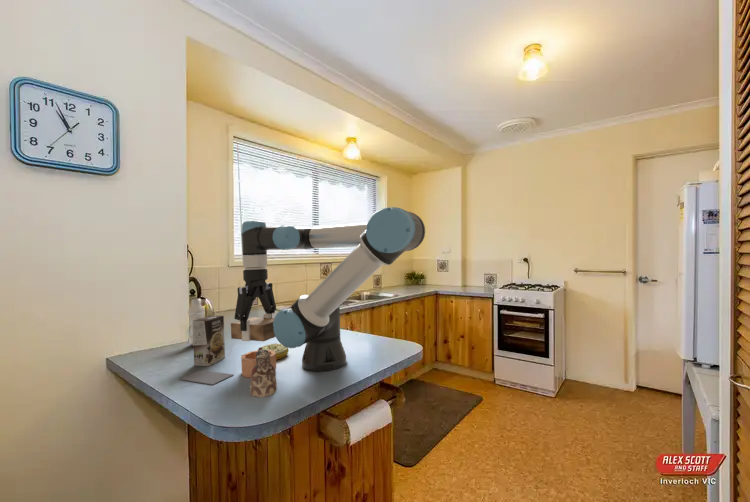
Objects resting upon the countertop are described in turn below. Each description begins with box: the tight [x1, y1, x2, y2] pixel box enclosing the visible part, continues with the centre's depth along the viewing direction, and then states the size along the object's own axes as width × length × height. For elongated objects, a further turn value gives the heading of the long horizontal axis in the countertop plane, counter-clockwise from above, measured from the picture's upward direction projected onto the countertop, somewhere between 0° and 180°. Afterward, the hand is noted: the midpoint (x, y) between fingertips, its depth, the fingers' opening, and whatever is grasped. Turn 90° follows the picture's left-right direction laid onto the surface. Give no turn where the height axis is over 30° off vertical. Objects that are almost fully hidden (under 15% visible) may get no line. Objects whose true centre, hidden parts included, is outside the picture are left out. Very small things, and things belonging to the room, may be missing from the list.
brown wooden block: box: [230, 316, 276, 342], centre depth 109 cm, size 13×10×5 cm
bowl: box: [240, 350, 277, 379], centre depth 109 cm, size 10×10×6 cm
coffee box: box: [192, 315, 226, 367], centre depth 121 cm, size 9×6×16 cm
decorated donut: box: [256, 342, 290, 361], centre depth 124 cm, size 11×12×4 cm
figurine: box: [249, 346, 278, 398], centre depth 93 cm, size 7×7×12 cm
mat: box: [179, 369, 234, 386], centre depth 106 cm, size 14×8×1 cm, turn 68°
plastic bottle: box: [187, 297, 206, 347], centre depth 144 cm, size 6×7×20 cm
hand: (257, 336), depth 109 cm, fingers closed on brown wooden block, 9 cm apart
